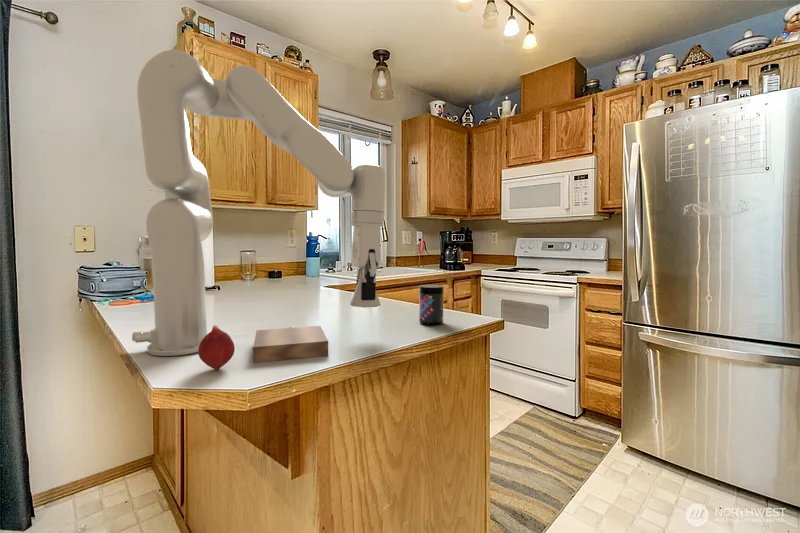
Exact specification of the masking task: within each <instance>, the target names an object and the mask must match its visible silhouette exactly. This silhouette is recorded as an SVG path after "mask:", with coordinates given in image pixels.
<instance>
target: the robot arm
mask: <svg viewBox="0 0 800 533" xmlns="http://www.w3.org/2000/svg"><path fill="white" fill-rule="evenodd" d="M137 81H138V82H137V86H136V89H137V90H136V91H137V92H136V94H137V106H138V113H139V120H140V130H141V131H140V132H141V140H142V148H143V158H144V166H145V172H146V176H147V178H148V180H149V182H150V183H151V184H152V185H154V187H156V188H157V189H159V190H162V191H163V192H164V195H165V196H164V197H165V198H164V199H161V200H159V201H157V202H156V203H155V204H153V205H152V207H150V209H149V211H148V213H147V215H146V220H145V221H146V223H145V226H146V227H145V228H146V234H147V239H148V244H149V249H150V255H151V257H150V258H151V272H152V273H151V274H152V285H153V286H152V287H153V288H152V289H153V309H154V313H153V314H154V328H153V329H150V330H149V331H133V332H132V334H131V340H132V342H135V343H137V344H138V343H145V342H148V343H149V345H148V346H146V352H147V353H148V355H151V356H156V357H157V356H158V357H159V356H160V357H174V356H184V355H190V354H195V353H198V351H199V345H200V343H201V341H202V339H203V338H204V337H205V336H206V335H207V334H208V332H207V331H208V330H207V326H208V325H207V304H206V281H205V280H206V276H205V275H206V274H205V261H204V253H203V246H202V242H203V241H204V240H206V239H207V238H209V236H210V234H211V233H212V231H213V227H214V216H213V215H214V214H213V206H212V199H211V188H210V183H209V182H210V180H209V176H208V173H207V169H206V168H205V166H204V164H203V163H202V162H201V161H200V160H199V159H197V157H195V156H194V154H193V150H192V144H191V138H190V136H191V135H190V127H189V121H188V117H187V114H186V110H188V111H190V112H191V113H194V114H196V115H200V116H204V117H211V118H213V117H214V118H221V119H229V120H230V119H232V120H242V121H243V120H244V121H251V122H252V123H253V125H255V126H256V127H257V128H258V129H259V130H260V131H261V132H262V133H263V134H264V136H266V137H267V138H268V139H269V141H270V142H272V144H273V145H275V147H277V148H279V149H281V150H283V151H285V152H287V153H289V155H291V156H292V157H293V158H295V159H296V160H297V161H298V162H299V163H300V164H301V165H302V166H304V167H305V169H306V170H308V173H310V174H311V175H312V176H313V177H314V178H315V180H316V181H317V183H318V184H317V185H318V187H319V189H320V191H321V192H322V194H325V195H326V196H328V197H330V198H344V197H351V215H350V226H353V234H352V245H351V246H352V248H351V258H350V259H351V262H350V265H351V266H352V268H354V269H357V271H356V284H355V285H356V286H355V287H357V284H358V281H359V277H360V272H361V268H362V267H363V283H362V284H361V299H362V300H375V295H376V292H377V289H376V288H377V287H376V284H377V278H376V277H377V273H376V272H377V270H378V269H379V268H380V267H381V266H380V265H381V228H382V227H384V226H385V225H384V221H385V193H386V192H385V190H386V189H385V188H386V187H385V186H386V171H385V169H384V168H383V167H382V166H381V165H378V164H370V163H361V164H357V165H355V166H354V167H352V165H351V163H350V162H349V160H348V159H347V158H346V157H345V156H344V154H343V153H342V152H340V150H339V149H338V148H337V147H336V146H335V145H334V144H333V143H332V141H330V140H329V139H328V137H326V136H325V135H324V134H323V133H322V131H319V129H317V128H316V127H315V126H314V125H312V124H311V123H310V122H309V121H308V120H306V119H305V118H304V116H302V115H301V114H300V113H299V111H297V110H296V109H295V107H293V106H292V105H291V104H290V103H289V102H288V101H287V99H285V98H284V96H282V95H281V93H280V92H279V91H278V90H277V89H276V87H274V86H273V85H272V83H270V81H269V80H268V78H266V77H265V76H264V75H263V74H262V73H261V72H260V71H259V70H257V69H256V68H254V67H252V66H250V65H246V64H241V65H236V66H235V67H233V68H231V69H230V70H229V72H228V73H227V74H226V77H225V80H223V79H217V78H216V79H215V78H212V77H211V76H210V75H209V73H208V71H207V70H206V68H205V67H204V66H203V65H202V63H201V62H200V61H199V60H198V59H196V58H195V57H194V56H193V55H191V54H190V53H187V52H185V51H183V50H178V49H168V50H164V51H161V52H159V53H156V55H154V56H152V57H151V58H150V59H149V60H148V61H147V62H146V63H145V64H144V66H143V68H142V69H141V71H140V74H139V76H138V80H137ZM365 267H369V269H368V268H365ZM366 272H367V273H366Z"/></svg>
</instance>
